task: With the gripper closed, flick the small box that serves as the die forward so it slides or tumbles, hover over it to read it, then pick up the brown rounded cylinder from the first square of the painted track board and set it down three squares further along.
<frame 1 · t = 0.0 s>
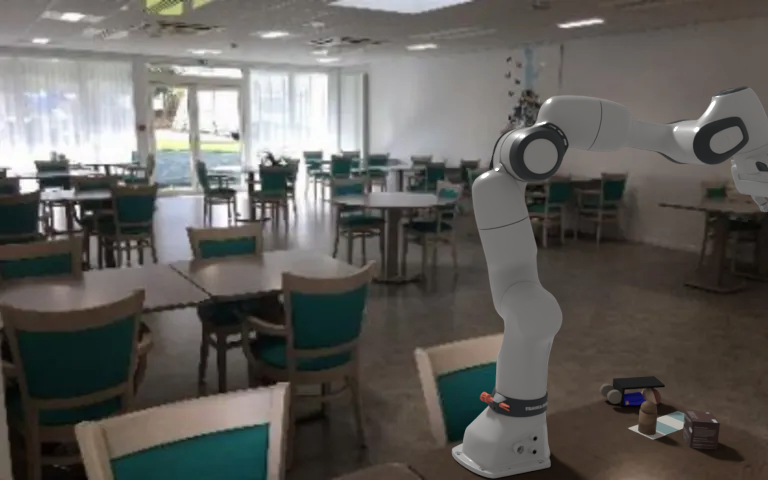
box: (699, 446, 153), on the table
brown rounded cylinder: (646, 431, 159), point 1 cm above the table, touching board
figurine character: (631, 407, 176), on the table
board: (665, 427, 163), on the table
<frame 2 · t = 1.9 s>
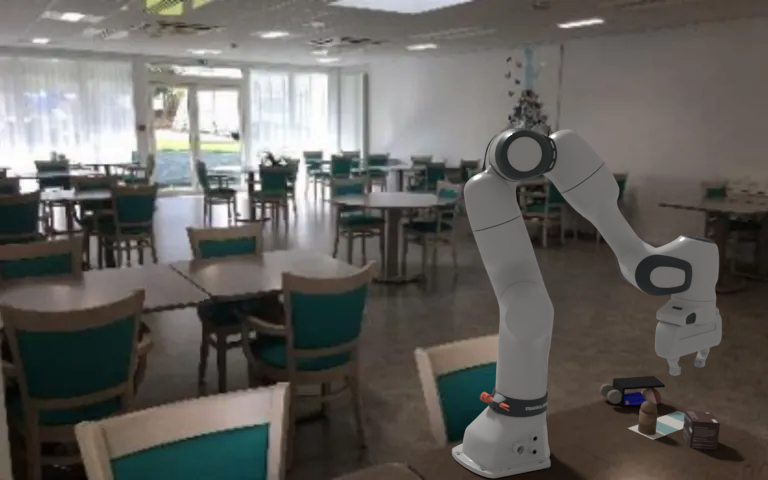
hand: (687, 370, 146), 20 cm above the table, tool pointing down, fingers open, 8 cm apart
nothing on the table moved.
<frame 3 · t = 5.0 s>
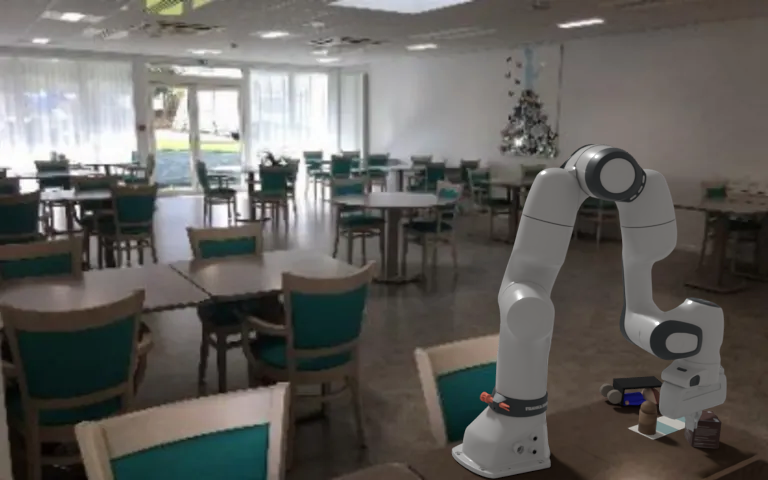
hand: (691, 428, 150), 5 cm above the table, tool pointing down, fingers closed
box: (700, 445, 154), on the table, touching gripper
everything else where it was.
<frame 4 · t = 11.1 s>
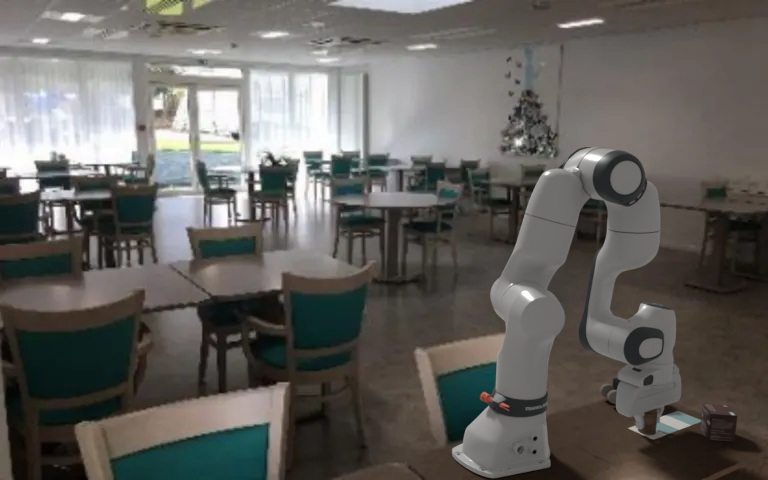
hand: (647, 425, 158), 2 cm above the table, tool pointing down, fingers closed on brown rounded cylinder, 4 cm apart
box: (716, 438, 158), on the table
brown rounded cylinder: (646, 431, 159), point 1 cm above the table, touching board, gripper
everything else where it was.
when the fingers open (3 cm above the table, at t = 15.9 s): brown rounded cylinder stays where it is, resting on board.
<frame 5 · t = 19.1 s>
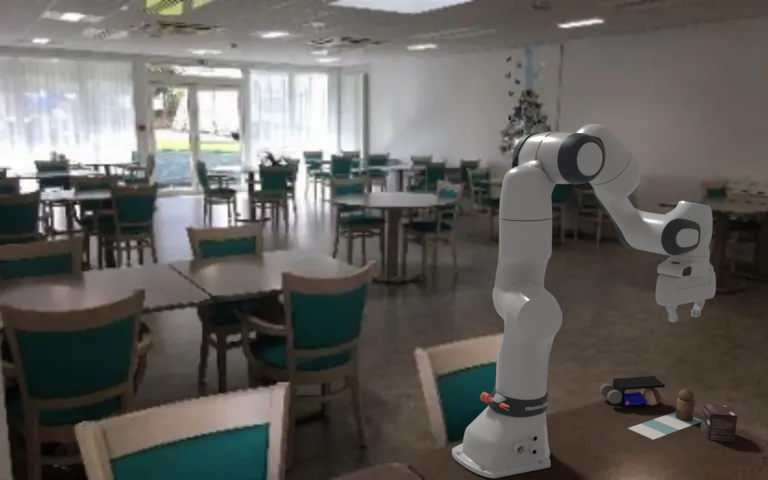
hand: (684, 319, 168), 25 cm above the table, tool pointing down, fingers open, 8 cm apart
brown rounded cylinder: (684, 418, 167), point 1 cm above the table, touching board
everything else where it was.
at the end: brown rounded cylinder 0.1 cm from the target spot on the board, point 0.8 cm above the board's base; brown rounded cylinder tilted 0°; box moved 7.5 cm from its start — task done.
